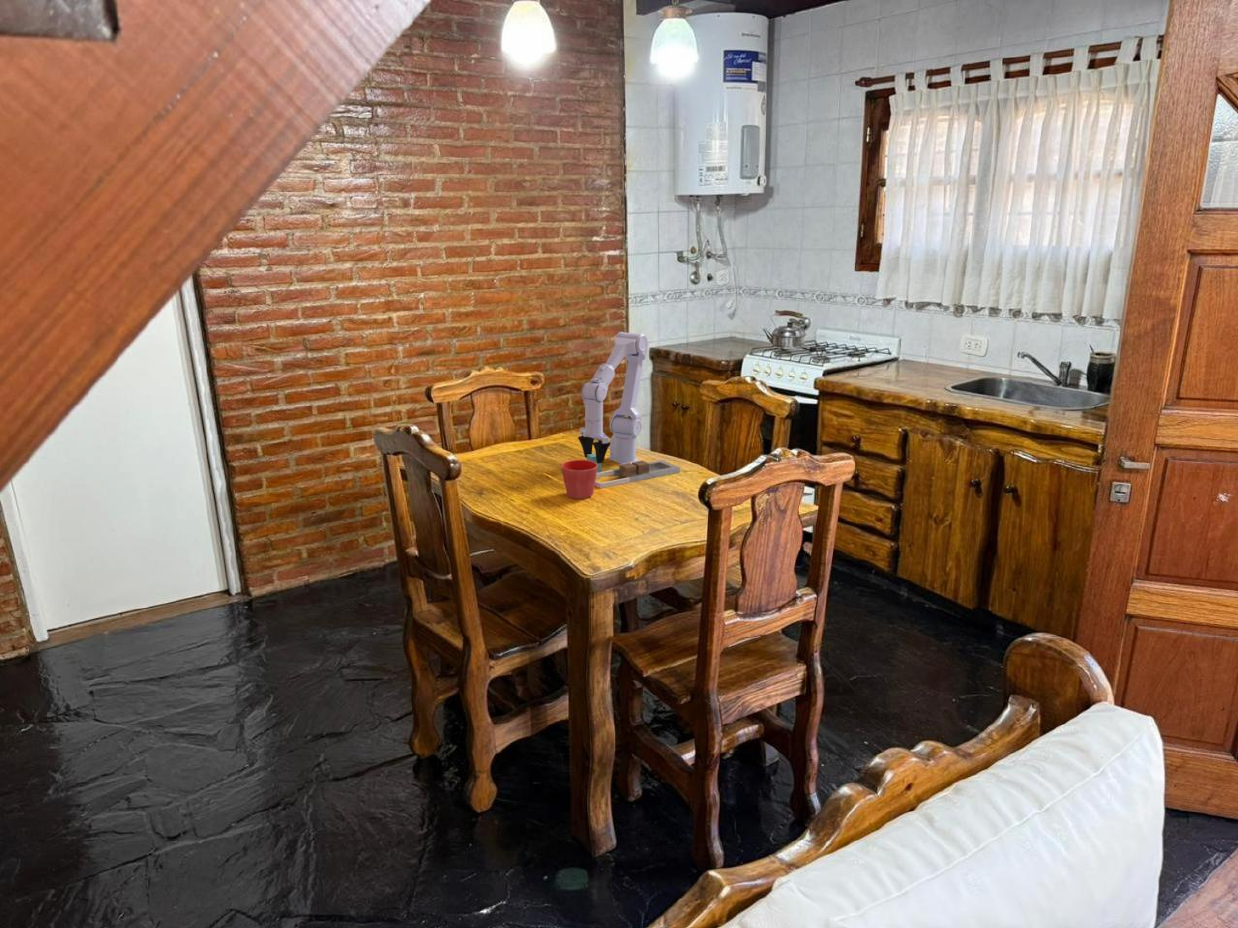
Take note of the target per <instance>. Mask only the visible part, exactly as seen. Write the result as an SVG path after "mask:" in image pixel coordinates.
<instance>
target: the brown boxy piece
mask: <svg viewBox="0 0 1238 928" xmlns="http://www.w3.org/2000/svg"><path fill="white" fill-rule="evenodd" d="M618 468H619V477H621V478H627V476H630V475H635V474H636V465H633V464H632V463H626V464H620V463H619V465H618ZM619 477H618V478H619ZM621 478H620V479H621Z"/></svg>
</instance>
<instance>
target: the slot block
mask: <svg viewBox="0 0 1238 928" xmlns="http://www.w3.org/2000/svg"><path fill="white" fill-rule="evenodd" d="M648 463H649V472H646V473H640V474H635V475H630V476H627V478H628V477H629V478H630V483H634V482H639V481H640V482H641V481H644V480H649V479H654V478H660V477H664V476H669V475H674V474H679V473H681V467H680V466H678V465H675V464H673V463H670V462H668V461H665V460H663V459H661V460H656V461H655V460H654V461H652V462H648ZM612 470H614V475H613V476H615V477H616V478H619V479H623V478H621V477H619V467H617V468H614V469H612Z"/></svg>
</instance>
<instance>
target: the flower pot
mask: <svg viewBox="0 0 1238 928" xmlns="http://www.w3.org/2000/svg"><path fill="white" fill-rule="evenodd" d="M597 468H598V465H597V464H596V463H595V462H592V461H588V460H587V459H574V460H573V459H572V460H569V461H568V460H567V461H565V462H564V463H562V464H561V473H562V477H563V481H564V486H565V490H566V494H567V497H568V498H570V499H574V500H586V499H589V498H591V497H592V496H593V494H594V489H595V480H596V479H597V478H596V474H597ZM596 481H597V480H596Z"/></svg>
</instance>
